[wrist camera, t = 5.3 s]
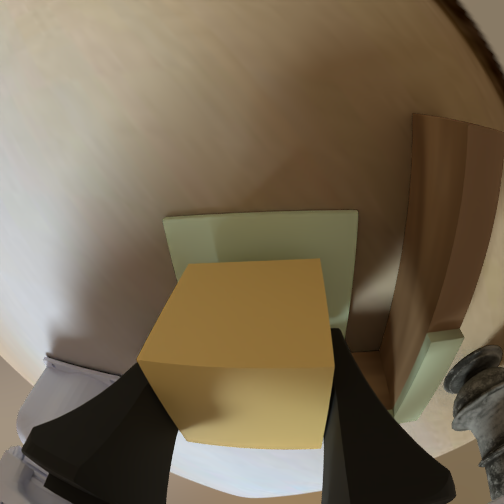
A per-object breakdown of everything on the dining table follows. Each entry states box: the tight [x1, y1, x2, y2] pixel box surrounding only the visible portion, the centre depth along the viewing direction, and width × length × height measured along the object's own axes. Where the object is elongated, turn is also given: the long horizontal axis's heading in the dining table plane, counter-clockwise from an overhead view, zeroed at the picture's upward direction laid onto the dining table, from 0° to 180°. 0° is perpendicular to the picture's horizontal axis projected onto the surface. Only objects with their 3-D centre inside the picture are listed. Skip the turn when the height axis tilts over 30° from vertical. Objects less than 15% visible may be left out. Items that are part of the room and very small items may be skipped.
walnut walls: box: [323, 113, 504, 437], centre depth 11 cm, size 15×14×4 cm
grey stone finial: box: [444, 345, 504, 501], centre depth 10 cm, size 6×6×12 cm
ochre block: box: [136, 258, 335, 449], centre depth 10 cm, size 5×5×5 cm
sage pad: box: [162, 210, 358, 339], centre depth 13 cm, size 8×8×1 cm
